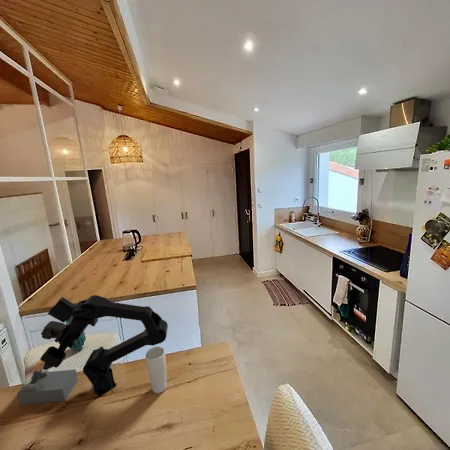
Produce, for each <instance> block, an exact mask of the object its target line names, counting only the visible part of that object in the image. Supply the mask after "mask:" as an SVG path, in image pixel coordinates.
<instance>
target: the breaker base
mask: <svg viewBox="0 0 450 450" xmlns="http://www.w3.org/2000/svg"><path fill="white" fill-rule="evenodd" d="M33 374H34V372H32V375H31V377H29V378H28V380H27V381H25V383H24V384H22V385H21V388H20V389H19V390H18V391H17V392H16V394H17V398H18V402H19V405H20V406H23V405H24V406H25V405H34V404H44V403H56V402H65V401H66V400H67V398H68V397H69V395H70V393H71V392H72V390H73V389H74V388H75V386H76V384H77V383H78V381H79V379H78V373H77V369H75V368H74V369H66V370H65V369H64V370H57V371H55V370H53V371H49V369H48V370H42V371H41V375H40V378H39V379H38V380H37V382H36V383H35V384H31V381H32V377H33Z"/></svg>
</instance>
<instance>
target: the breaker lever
mask: <svg viewBox="0 0 450 450" xmlns="http://www.w3.org/2000/svg"><path fill="white" fill-rule="evenodd" d="M44 364H45V362H43V361H41V359H38V360H37V362H36V363H35V364H34V365H33V367H32V371H33V373H34V374H33V373H32V376H33V377H32V376H31V377H32V381H31V384H35V383H36V382H37V380H38V379H39V378H40V375H41V371H43V367H44Z"/></svg>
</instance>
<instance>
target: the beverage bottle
mask: <svg viewBox="0 0 450 450" xmlns="http://www.w3.org/2000/svg"><path fill="white" fill-rule="evenodd" d="M72 319H73V316H72V317H71V318H70V319H69V320H68V321H67V320H66V321H65V324H66V325H67V324H68V323H69V322H70V321H71V320H72ZM85 340H86V341H87V338H86V334H85V331H84V332H83V333H82V334H81V336H80V337H79V338H78V340H77V341H76V342H75V343H74V345H73V346H72V348H71V349H72V350H73V351H77V350H81V349H82V348H83V347H82V346H83V345H84V342H85Z"/></svg>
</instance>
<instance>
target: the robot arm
mask: <svg viewBox="0 0 450 450" xmlns="http://www.w3.org/2000/svg"><path fill="white" fill-rule="evenodd" d="M47 315H49V316H50V317H52V318H54V319H56V320H58V321H56V320H51V321H49V322H47V324H46V325H45V326H44V327H43V329H42V331H41V333H40V335H41V338H42V339H43V340H44V339H45V340H51V339H54V341H53V342H55V343H58V344H59V346H58V348H57V347H56V346H54V345H53V346H49V347H48V348H47V349H46V350H45V351H44V353H43V354H42V355H41V357H40V359H41V361H43V362H45V364H44V367H43V368H42V370H43V371H47V370H48V371H49V370H50V369H52V368H55V369H56V368H59V367H60V366H61V364H62V362H64V360H65V359H66V356H67V353H66V350H67V349H68V348H69V349H72V346H73V345H74V343H75V342H76V341H77V340H78V338H79V337H80V336H81V334H82V333H83V332H85V330H86V329H87V327H88V326H89V325H90V326H91V327H95V326H96V325H97V323H98V321H99V319H102V318H104V317H111V318H119V319H125V320H132V321H139V322H141V323H142V325H143V326H144V330H143V331H142V332H139V334H136V335H134V336H132V337H130V338H129V339H126V340H124V341H122V342H120V343H118V344H116V345H115V346H112V347H110V348H109V349H108V348H107V349H106V348H104V346H103V345H102V346H99V348H97V349H93V350H92V352H91V354H90V355H89V357H88V358H87V360H86V361H85V364H84V365H83V368H82V372H83V374H84V375H85V376H86V377H87V378H88V380H89V382H90V383H91V387H92V392H93V393H94V394H96V396H98V397H99V398H101V397H102V396H103V395H105V394H106V393H108V392H109V391H110V390H112V389H113V388H115V387H116V386H117V383H116V382H115V379H114V374H113V369H112V368H111V365H112V364H113V363H114V362H116V361H118V360H120V359H121V358H123V357H125V356H127V355H130V354H131V353H134V352H136V351H137V350H139V349H141V348H143V347H145V346H153V347H154V346H155V345H160V344H162V343H164V342H165V341H166V339H167V336H168V335H167V334H168V328H169V325H168V324H169V323H168V322H167V321H166V320H164V319H163V318H162V317H161V316H160V314H158V313H157V312H155V311H154V310H153V309H152V307H150V306H146V305H145V306H140V305H135V304H127V303H121V302H120V303H119V302H114V301H111V300H109V299H108V298H107V297H103V296H101V295H96V294H95V295H94V294H92V295H91V296H89V297H88V298H86V299H83V300H80V301H78V302H77V304H75V303H73V302H71V301H69V299H67V298H65V297H63V296H62V297H61V298H60V299H59V300H58V301H57V303H55V305H53V306H52V307H50V309H49V310H48V312H47ZM72 316H73V319H72V320H71V321H70V322H69V323H68V324H66V320H67V321H68V320H69V319H70V318H71V317H72ZM40 359H39V360H40Z"/></svg>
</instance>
